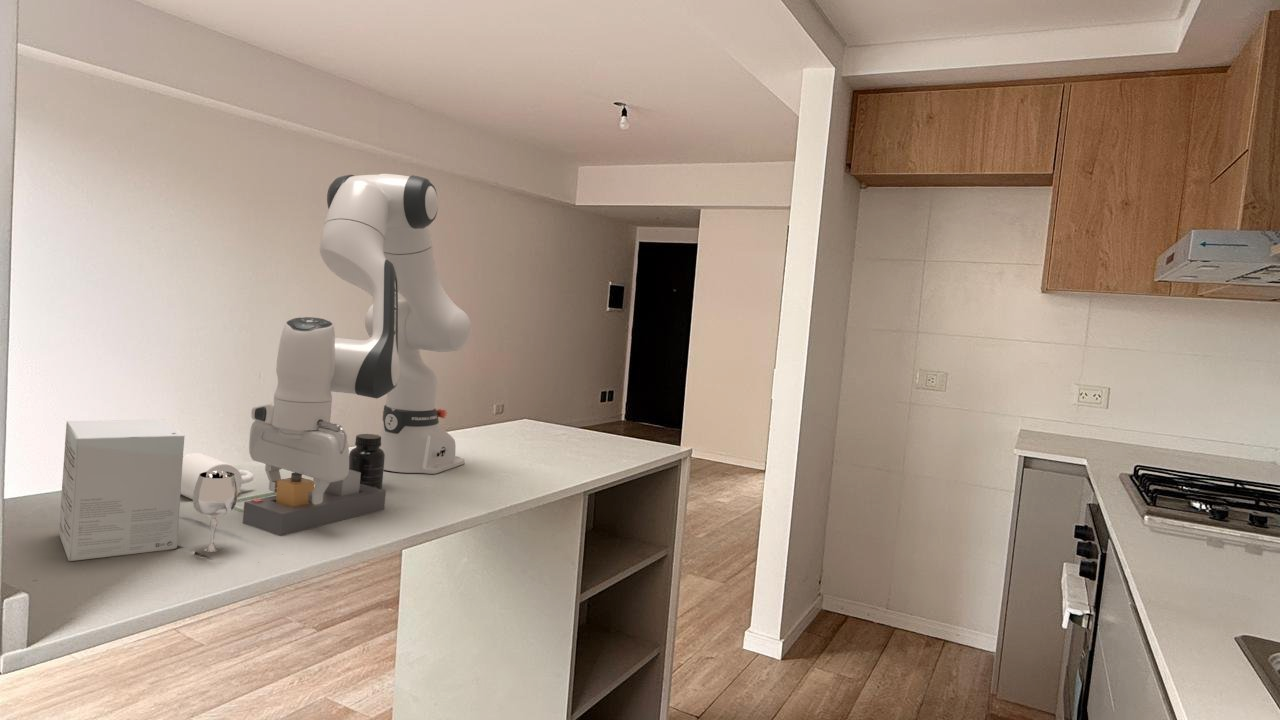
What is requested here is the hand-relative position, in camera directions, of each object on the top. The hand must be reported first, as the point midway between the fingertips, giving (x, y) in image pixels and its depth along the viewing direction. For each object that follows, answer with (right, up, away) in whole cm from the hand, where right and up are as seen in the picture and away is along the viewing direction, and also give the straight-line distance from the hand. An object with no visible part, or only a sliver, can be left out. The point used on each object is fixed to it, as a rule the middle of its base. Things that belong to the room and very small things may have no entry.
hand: (295, 497), depth 127 cm
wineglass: (-6, -6, -13) cm, 16 cm away
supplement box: (-21, -5, -13) cm, 25 cm away
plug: (0, -4, 0) cm, 4 cm away
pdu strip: (+2, -6, +5) cm, 8 cm away
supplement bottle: (+2, -4, +26) cm, 26 cm away
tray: (-9, -4, +8) cm, 13 cm away
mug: (-20, -3, +12) cm, 24 cm away
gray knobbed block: (+4, -4, +9) cm, 11 cm away
